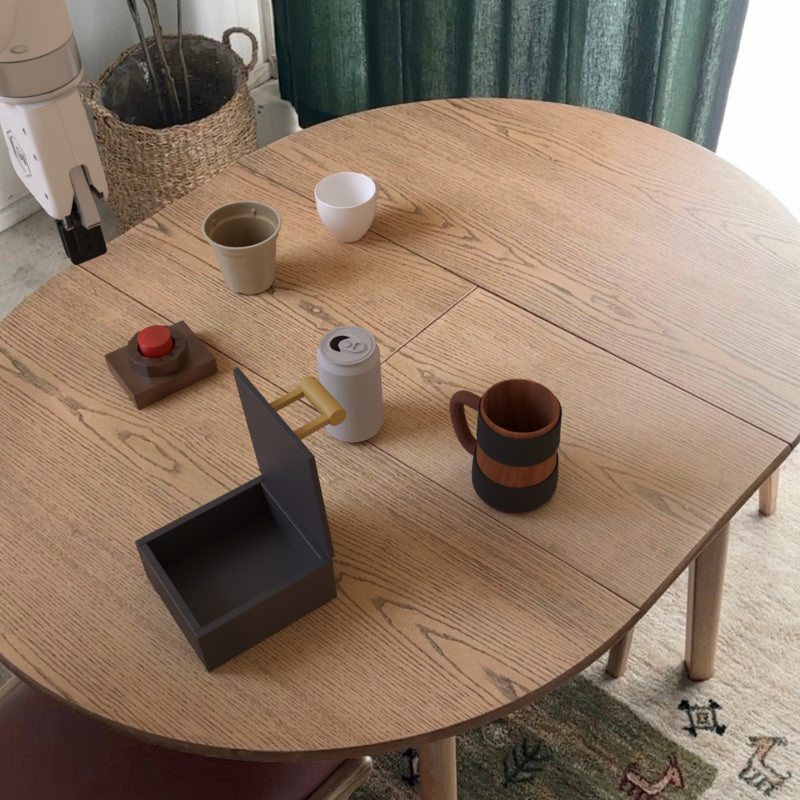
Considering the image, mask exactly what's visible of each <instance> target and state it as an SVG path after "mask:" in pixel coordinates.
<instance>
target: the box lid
mask: <svg viewBox="0 0 800 800" xmlns="http://www.w3.org/2000/svg"><path fill="white" fill-rule="evenodd" d="M232 375H233V378H234V382H235V385H236V389H237V393H238V396H239V400H240V403H241V404H240V405H241V407H242V412H243V414H244V415H243V416H244V418H245V422H246V425H247V430H248V433H249V436H250V439H251V444H252V447H253V451H254V455H255V459H256V462H257V466H258V470H259V473H260V475H263V477H264V478H265V479H266V480H267V482H268V483H269V484H270V485H271V487H272V488H273V489H274V490H275V492H276V493H277V494H278V496H279V497H280V498H281V499H282V501H283V502H284V503H285V504H286V506H287V507H288V508H289V509H290V511H291V512H292V513H293V514H294V516H295V517H296V518H297V519H298V521H299V522H300V523H301V524H302V526H303V527H304V528H305V529H306V531H307V532H308V533H309V534H310V536H311V537H312V538H313V539H314V541H315V542H316V543H317V544H318V546H319V547H320V548H321V549H322V551H323V552H324V553H325V554H326V556H327V557H328V558H329V559H330V560H331V559H332V560H333V559H334V558H336V554H335V553H336V552H335V548H334V543H333V539H332V534H331V531H330V530H331V529H330V525H329V520H328V515H327V509H326V505H325V500H324V496H323V491H322V487H321V481H320V477H319V472H318V467H317V461H316V458H315V454H313V453H312V451H311V450H310V448H308V447H307V445H306V444H305V443H304V442H303V441H302V440H303V439H305V438H307V437H309V436H311V435H312V434H314V433H316V432H317V431H319V430H321V429H323V428H325V426H326V425H328V424H330V425H331V426H337V425H339V424H341V423H342V422H343V421H344V419H345V418H346V415H347V413H346V410H345V409H344V408H343V407H342V406H341V405H340V404H339V403H338V402H337V400H336V399H335V398H334V397H333V396H332V395H331V394H330V393H329V392H328V391H327V390H326V389H325V387H324V386H323V385H322V384H321V383H320V382H319V379H317V378H316V377H315V376H313V375H308V376H306V377H304V378H302V380H301V381H300V383H299V385H298V387H297V388H295V389H293V390H291V391H289V392H288V393H285V394H284V395H282V396H280V397H278V398H277V399H274V400H273V401H271V402H269V401H268V400H267V399H266V398H265V396H263V394H262V393H261V391H260V390H259V389H258V388H257V387H256V386H255V384H254V383H253V382H252V381H251V380H250V379H249V378H248V377H247V375H245V373H244V372H243V371H242V370H241V368H240V367H238V366H236V367H234V368H233V369H232ZM304 397H305V399H306V400H307V401H308V402H309V403H310V404H311V406H312V407H313V408H314V409H315V410H316V411H317V412H318V413H319V414H320V416H318V417H317V418H315V419H312V420H311V421H309V422H307V423H306V424H304V425H302V426H300V427H299V428H297V429H295V430H293V429H292V428H291V426H290V425H289V424H288V423H287V422H286V420H284V419H283V417H282V416H281V415H280V414H279V413H278V411H280V410H282V409H284V408H286V407H288V406H290V405H292V404H294V403H296V402H297V401H299V400H300V399H302V398H304Z"/></svg>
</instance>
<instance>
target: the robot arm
mask: <svg viewBox="0 0 800 800" xmlns="http://www.w3.org/2000/svg"><path fill="white" fill-rule="evenodd" d="M66 2H67V1H66V0H0V128H1V131H2V134H3V137H4V141H5V144H6V147H7V148H6V149H7V152H8V154H9V158H10V162H11V163H12V167H13V169H14V171H15V173H16V174H17V176H18V177H19V179H20V181H21V182H22V183H23V185H24V186H25V188H26V189H27V190H28V191H29V192H30V194H31V195H32V196H33V197H34V198H35V200H36V201H37V202H38V204H40V206H41V207H42V209H43V210H44V211H45V212H46V213H47V214H48V216H50V217H52V218H53V219H54V223H55V226H56V229H57V232H58V235H59V238H60V241H61V245H62V248H63V251H64V253H65V256H66V257H67V258H68V259H69V260H70V262H71V263H72V264H73V265H74V266H79V265H81V264H84V263H86V262H88V261H91V260H94V259H96V258H98V257H101V256H104V255H105V254H107V252H108V247H107V244H106V240H105V237H104V236H105V235H104V233H103V230H102V227H101V225H103V221H102V218H101V216H100V213H99V210H98V208H97V204H96V202H95V198H94V195H95V196H96V198H98V200H99V201H101V202H102V203H106V202H107V200H108V198H109V188H108V181H107V178H106V174H105V170H104V166H103V163H102V160H101V157H100V153H99V150H98V149H99V148H98V146H97V142H96V139H95V137H94V134H93V130H92V128H91V124H90V121H89V117H88V116H87V109H85V107H84V104H83V101H82V98H81V95H80V92H79V89H78V87H77V85H79V83H80V82H81V81H82V79H83V77H84V74H85V72H84V71H85V69H84V66H83V62H82V58H81V54H80V51H79V47H78V43H77V39H76V35H75V32H74V29H73V25H72V22H71V18H70V14H69V10H68V6H67V3H66Z"/></svg>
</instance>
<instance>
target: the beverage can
mask: <svg viewBox="0 0 800 800" xmlns="http://www.w3.org/2000/svg"><path fill="white" fill-rule="evenodd" d="M316 362H317V372H318V381H319V382H320V383H321V384H322V385H323V386H324V387H325V389H326V390H327V391H328V392H329V393H330V394H331V395H332V396H333V397H334V398H335V399H336V400H337V402H338V403H339V404H340V405H341V406H342V407H343V408H344V409H345V410H346V413H347V415H346V418H345V419H344V421H343V422H342V423H341V424H339V425H337V426H331V425H330V424H328V425H326V426H325V427H324V428H325V429H326V431H327V433H328V434H329V435H330V436H331V437H333V438H334V439H336V440H338V441H341V442H345V443H360V442H363V441H367V440H369V439H371V438H372V437H374V436H376V434H378V433H379V431H381V429H382V426H383V424H384V405H383V403H384V402H383V384H382V366H381V365H382V364H381V350H380V347H379V345H378V342H377V341H376V339H375V337H374V335H373V333H372V332H370V331H369V330H367V329H365V328H363V327H360V326H357V325H342V326H338V327H335V328H332V329H330V330H328V331H327V332H326V333H325V334H324V335H323V336H322V337H321V339H320V341H319V345H318V348H317V351H316Z"/></svg>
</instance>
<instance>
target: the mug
mask: <svg viewBox="0 0 800 800" xmlns="http://www.w3.org/2000/svg"><path fill="white" fill-rule="evenodd" d="M448 405H449V407H448V408H449V416H450V422H451V425H452V429H453V431H454V434H455V437H456V438H457V440H458V442H459V444H460V445H461V446H462V448H463V449H464V450H465V451H466V452H467V453H468V454H469V455H471V456H473V458H472V461H471V483H472V487H473V489H474V491H475V493H476V495H477V496H478V497H479V498H480V499H481V500H482V501H483V503H485V504H487V505H488V507H490V508H492V509H494V510H496V511H498V512H501V513H504V514H510V515H522V514H528V513H530V512H533V511H535V510H538V509H540V508H541V507H543V506H544V505H546V504H547V503H548V502H550V500H551V499H552V498H553V496H554V495H555V493H556V491H557V487H558V481H559V466H560V465H559V463H560V460H559V459H560V457H559V451H558V449H559V447H560V444H561V431H562V419H563V408H562V404H561V402H560V400H559V398H558V397H557V396H556V395H555V394H554V392H553V391H552V390H551V389H549V388H548V387H546V386H545V385H543V384H541V383H539V382H537V381H535V380H531V379H526V378H509V379H504V380H501V381H499V382H496V383H494V384H492V385H491V386H490V387H488V388H487V389H486V390H485V392H484V393H483V394H482V396H480V395H477V394H476V393H474V392H472V391H470V390H466V389H465V390H464V389H461V390H457V391H456V392H453V394H452V395H451V397H450V399H449V404H448ZM465 406H466V407H468V408H470V409H473V410H474V411H476V412H477V417H476V432H475V434H476V438H475V436H474V435H473V433H472V430H471V428H470V426H469V423H468V420H467V415H466V412H465Z"/></svg>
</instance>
